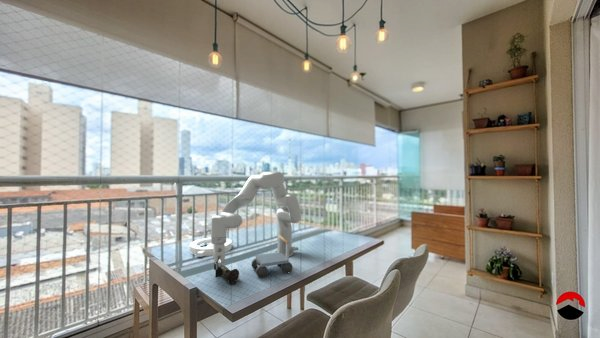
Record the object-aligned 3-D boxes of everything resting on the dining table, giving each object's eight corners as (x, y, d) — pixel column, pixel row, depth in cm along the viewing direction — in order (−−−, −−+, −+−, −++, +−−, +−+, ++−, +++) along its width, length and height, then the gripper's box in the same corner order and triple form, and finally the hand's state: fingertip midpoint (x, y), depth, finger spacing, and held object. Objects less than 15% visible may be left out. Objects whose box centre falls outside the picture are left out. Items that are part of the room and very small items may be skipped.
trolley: (284, 263, 145) (284, 234, 145) (292, 273, 132) (293, 240, 132) (251, 268, 137) (251, 237, 137) (256, 279, 124) (257, 245, 124)
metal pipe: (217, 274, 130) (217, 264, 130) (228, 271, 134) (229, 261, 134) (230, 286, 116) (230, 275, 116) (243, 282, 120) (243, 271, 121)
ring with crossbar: (221, 241, 190) (221, 235, 190) (238, 250, 170) (238, 243, 170) (184, 248, 171) (184, 242, 171) (198, 259, 151) (198, 252, 151)
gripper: (228, 243, 117) (227, 278, 116) (224, 234, 132) (223, 265, 132) (212, 245, 114) (211, 281, 113) (210, 235, 129) (209, 267, 129)
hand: (218, 272), depth 123 cm, fingers open, 9 cm apart
